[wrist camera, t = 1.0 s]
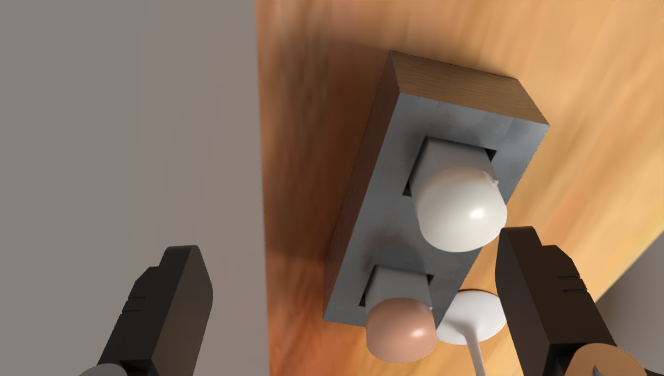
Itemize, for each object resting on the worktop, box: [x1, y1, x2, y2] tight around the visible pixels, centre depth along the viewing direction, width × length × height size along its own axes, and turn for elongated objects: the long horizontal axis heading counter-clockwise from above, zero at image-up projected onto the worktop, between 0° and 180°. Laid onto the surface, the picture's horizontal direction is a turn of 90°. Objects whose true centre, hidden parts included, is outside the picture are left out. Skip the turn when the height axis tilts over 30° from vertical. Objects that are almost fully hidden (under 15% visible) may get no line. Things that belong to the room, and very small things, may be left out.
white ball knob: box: [408, 135, 507, 252], centre depth 33 cm, size 5×5×7 cm
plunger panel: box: [323, 50, 550, 330], centre depth 41 cm, size 10×22×7 cm, turn 167°
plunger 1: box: [365, 265, 437, 363], centre depth 40 cm, size 5×5×7 cm
